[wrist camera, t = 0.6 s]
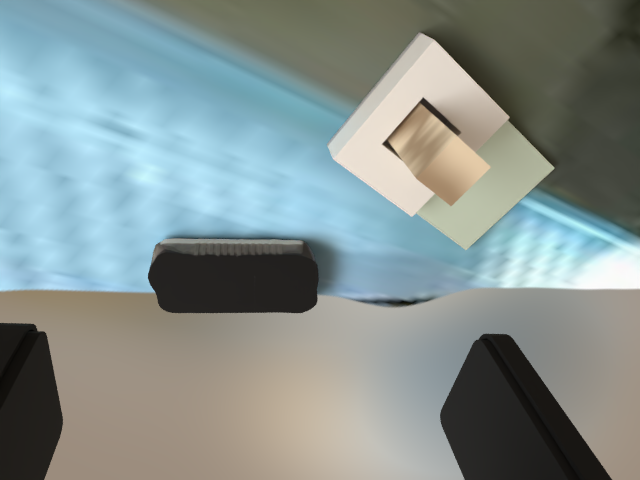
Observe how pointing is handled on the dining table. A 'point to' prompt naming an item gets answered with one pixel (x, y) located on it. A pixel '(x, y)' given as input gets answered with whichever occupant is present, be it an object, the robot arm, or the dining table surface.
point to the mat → (490, 188)
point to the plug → (436, 155)
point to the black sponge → (234, 276)
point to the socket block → (396, 103)
